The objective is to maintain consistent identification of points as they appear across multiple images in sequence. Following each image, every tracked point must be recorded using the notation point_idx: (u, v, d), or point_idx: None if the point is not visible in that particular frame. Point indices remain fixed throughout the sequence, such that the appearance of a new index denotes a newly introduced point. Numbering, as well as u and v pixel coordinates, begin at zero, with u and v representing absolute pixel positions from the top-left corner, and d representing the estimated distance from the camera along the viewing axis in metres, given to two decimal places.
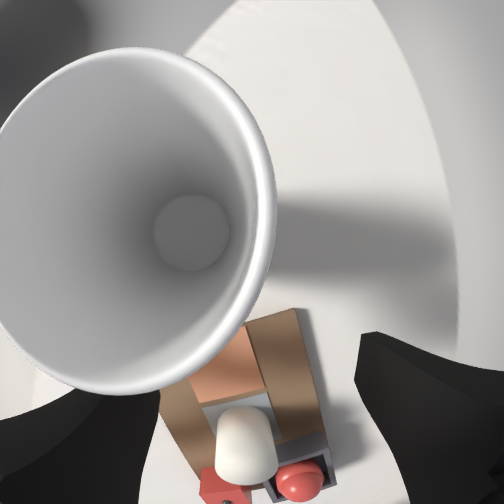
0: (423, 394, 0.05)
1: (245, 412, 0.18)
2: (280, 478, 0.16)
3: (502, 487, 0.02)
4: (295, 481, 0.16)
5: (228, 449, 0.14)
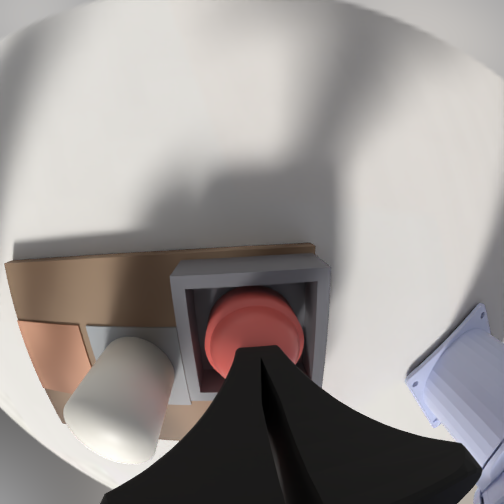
0: (282, 428, 0.05)
1: None
2: None
3: None
4: (215, 364, 0.10)
5: (76, 432, 0.08)
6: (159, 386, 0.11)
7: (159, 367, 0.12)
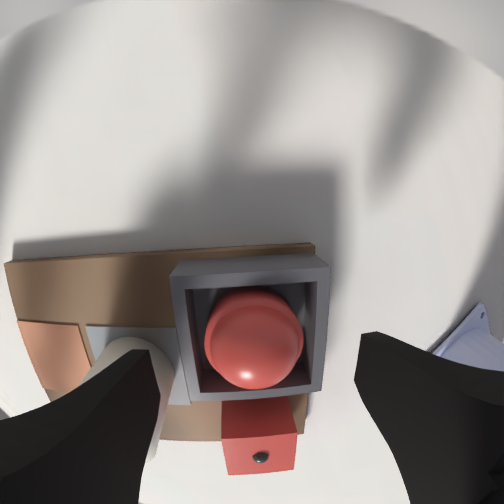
0: (423, 394, 0.05)
1: None
2: None
3: (502, 487, 0.02)
4: (214, 364, 0.10)
5: None
6: (159, 386, 0.11)
7: (160, 367, 0.12)
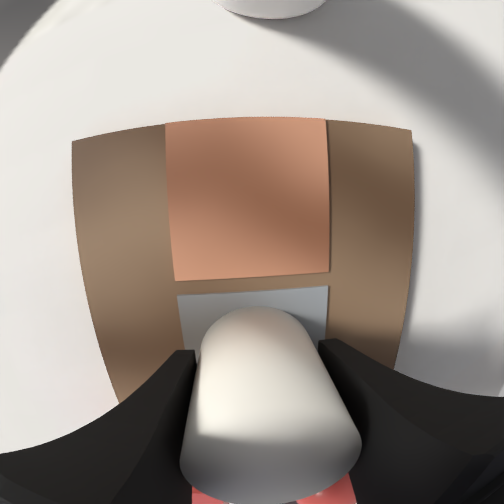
0: (369, 411, 0.05)
1: (284, 322, 0.08)
2: None
3: None
4: None
5: (247, 406, 0.05)
6: None
7: None
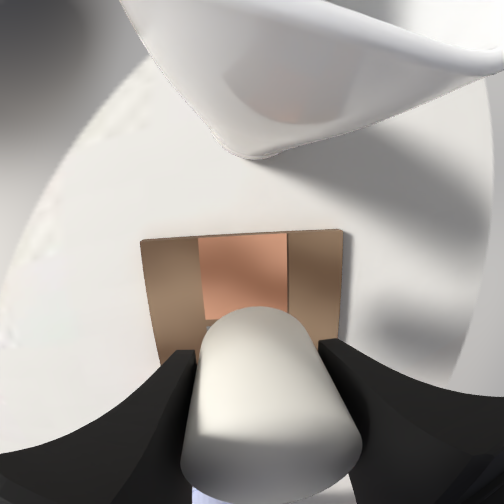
0: (369, 411, 0.05)
1: (284, 322, 0.08)
2: None
3: None
4: None
5: (248, 406, 0.05)
6: None
7: None
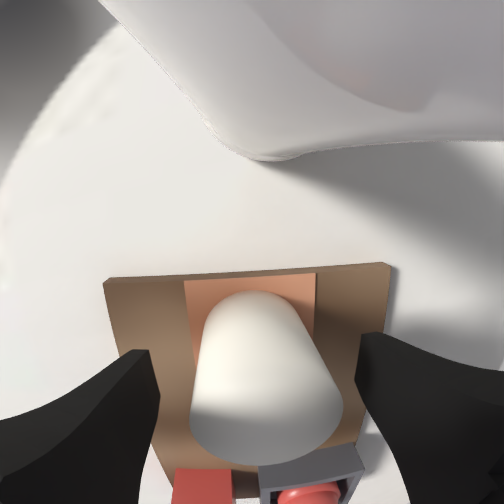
0: (423, 394, 0.05)
1: (276, 302, 0.10)
2: (289, 495, 0.11)
3: (502, 487, 0.02)
4: (310, 503, 0.10)
5: (246, 362, 0.06)
6: None
7: None
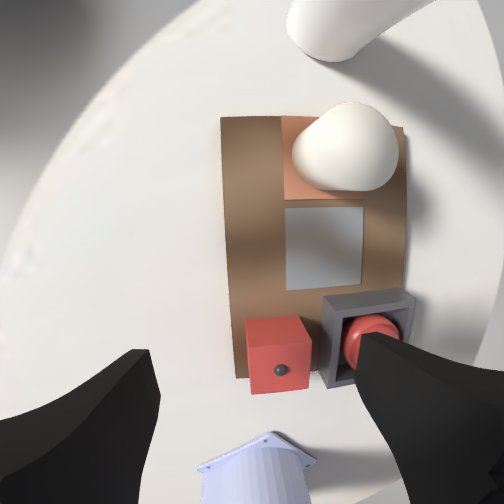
0: (423, 394, 0.05)
1: None
2: (356, 330, 0.16)
3: (502, 487, 0.02)
4: None
5: (345, 103, 0.11)
6: None
7: None
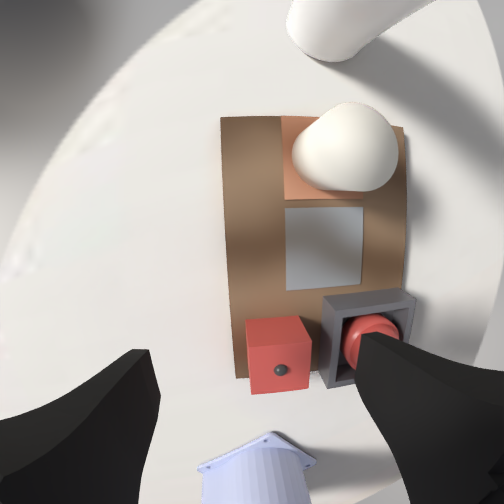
0: (423, 394, 0.05)
1: None
2: (356, 330, 0.16)
3: (502, 487, 0.02)
4: None
5: (345, 103, 0.11)
6: None
7: None
